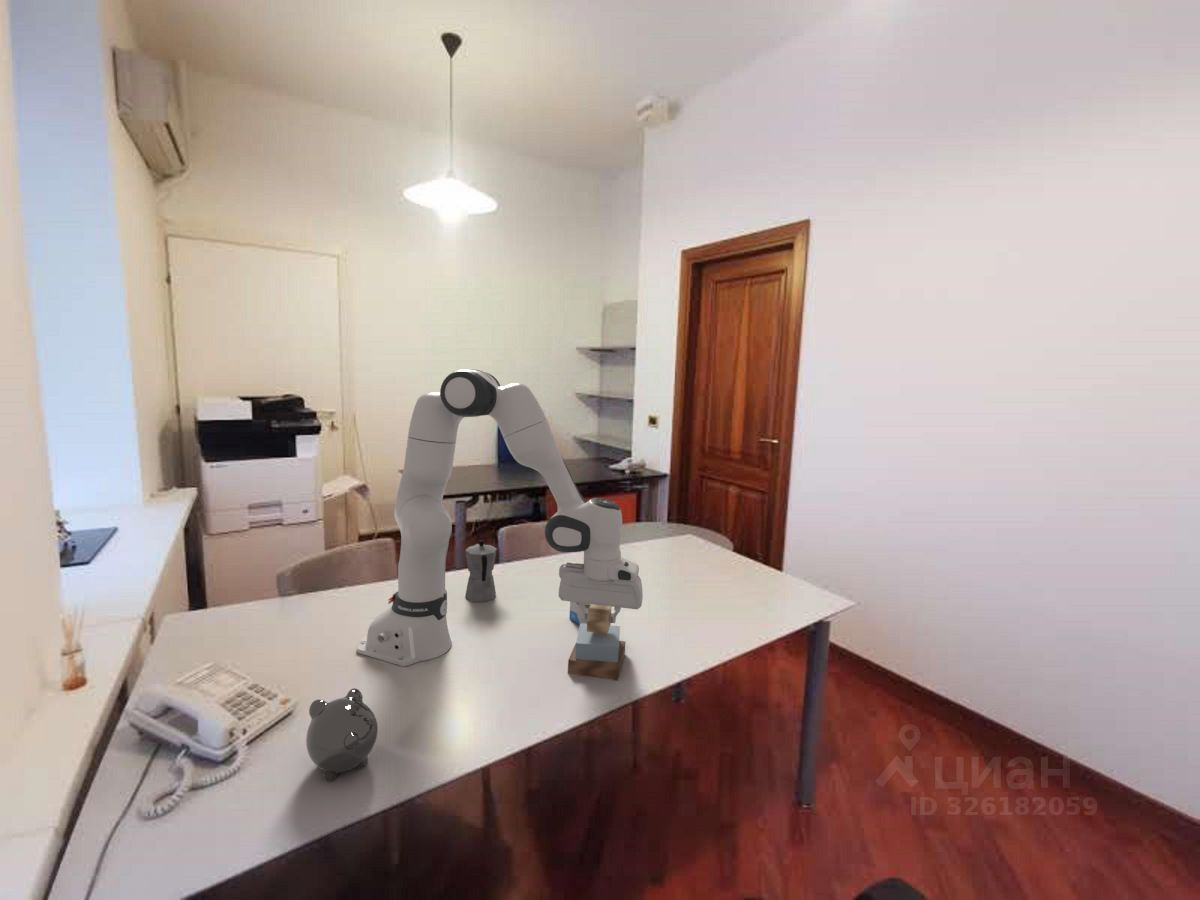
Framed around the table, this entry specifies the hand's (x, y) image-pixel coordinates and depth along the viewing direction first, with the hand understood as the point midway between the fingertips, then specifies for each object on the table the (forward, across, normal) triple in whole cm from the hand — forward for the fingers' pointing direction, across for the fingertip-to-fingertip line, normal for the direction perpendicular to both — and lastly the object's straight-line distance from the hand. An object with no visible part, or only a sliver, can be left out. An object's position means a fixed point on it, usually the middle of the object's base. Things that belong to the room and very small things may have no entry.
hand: (599, 620), depth 131 cm
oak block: (+2, 0, 0) cm, 2 cm away
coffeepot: (+11, -41, +27) cm, 50 cm away
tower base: (+12, 0, -1) cm, 12 cm away
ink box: (+11, -7, +20) cm, 24 cm away
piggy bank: (+11, -38, -44) cm, 59 cm away
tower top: (+8, 0, 0) cm, 8 cm away
